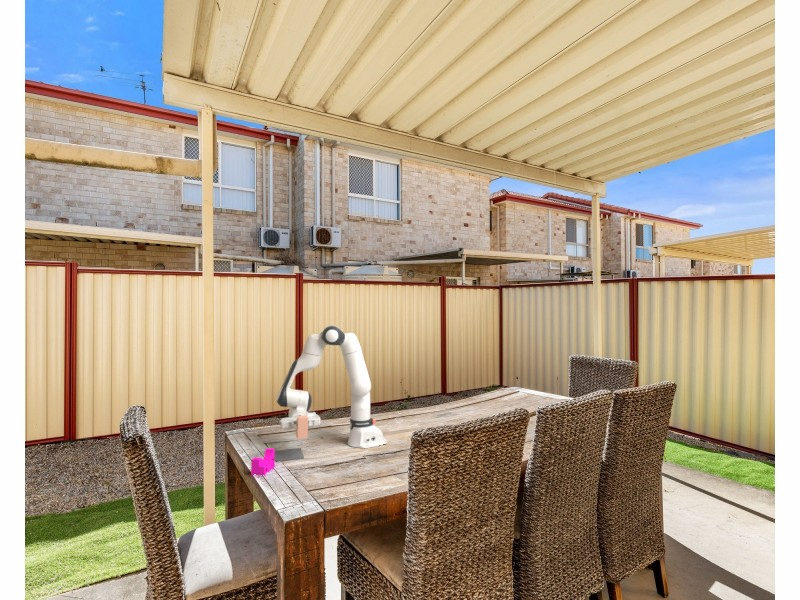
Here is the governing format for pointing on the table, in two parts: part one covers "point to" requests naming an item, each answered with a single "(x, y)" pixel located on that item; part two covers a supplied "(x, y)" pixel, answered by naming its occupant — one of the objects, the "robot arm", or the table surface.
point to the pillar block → (302, 427)
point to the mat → (288, 454)
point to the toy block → (263, 463)
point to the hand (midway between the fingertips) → (302, 426)
